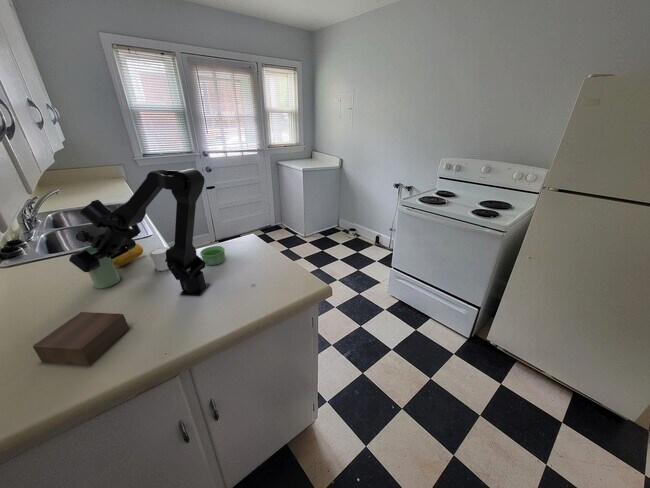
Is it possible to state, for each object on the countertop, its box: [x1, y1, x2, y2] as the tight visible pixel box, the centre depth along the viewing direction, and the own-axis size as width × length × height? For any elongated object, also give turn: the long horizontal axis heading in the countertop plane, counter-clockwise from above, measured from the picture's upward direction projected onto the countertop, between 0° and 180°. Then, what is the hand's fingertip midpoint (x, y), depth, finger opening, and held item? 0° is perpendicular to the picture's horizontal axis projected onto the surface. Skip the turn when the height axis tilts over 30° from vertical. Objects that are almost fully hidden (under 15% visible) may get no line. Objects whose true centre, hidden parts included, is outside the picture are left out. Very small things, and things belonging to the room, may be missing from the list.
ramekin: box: [199, 245, 226, 266], centre depth 106 cm, size 9×9×4 cm
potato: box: [112, 243, 144, 267], centre depth 105 cm, size 8×14×7 cm, turn 158°
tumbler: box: [81, 245, 121, 289], centre depth 90 cm, size 7×7×13 cm
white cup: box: [149, 246, 170, 272], centre depth 101 cm, size 7×7×7 cm
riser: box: [32, 311, 130, 366], centre depth 66 cm, size 12×12×5 cm
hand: (96, 265), depth 91 cm, fingers closed on tumbler, 7 cm apart
